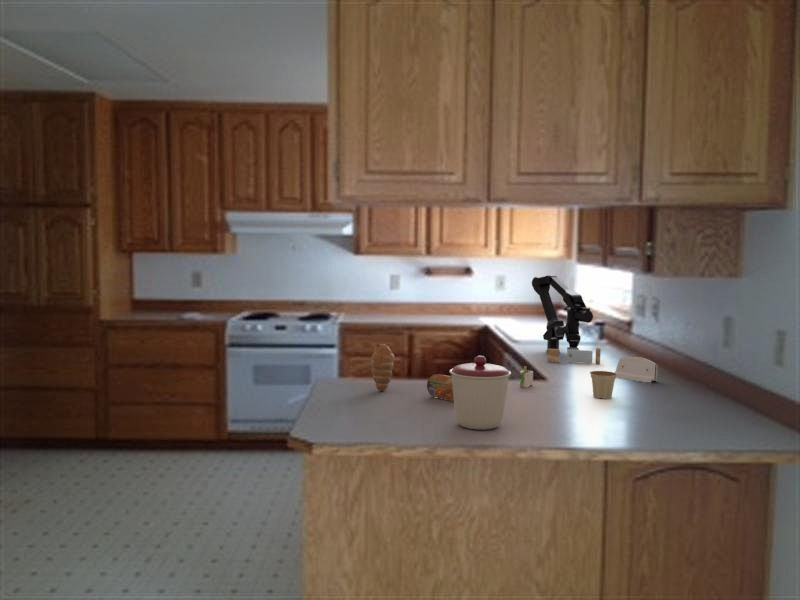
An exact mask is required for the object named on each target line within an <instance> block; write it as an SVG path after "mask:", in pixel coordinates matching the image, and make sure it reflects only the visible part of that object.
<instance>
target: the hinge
mask: <svg viewBox="0 0 800 600" xmlns="http://www.w3.org/2000/svg"><path fill="white" fill-rule="evenodd" d="M614 373H617V376H616V377H618V378H617V379H621V378H622V380H627V379H629V381H633V380H635V381H634V382H639V381H643V382H642V383H646V382H651V383H652V382H654V381H656V382H657V378H658V364H657V363H656V362H654V361H652V360H650V359H648V358H644V357H640V356H625V357H621V358H619V359H618V363H617V365H616V369H615V371H614Z"/></svg>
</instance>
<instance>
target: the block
mask: <svg viewBox="0 0 800 600" xmlns="http://www.w3.org/2000/svg"><path fill="white" fill-rule="evenodd" d="M567 350H580V348H579V347H577V348H575V347H568V346H567V347H566V351H567Z"/></svg>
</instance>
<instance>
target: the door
mask: <svg viewBox="0 0 800 600" xmlns="http://www.w3.org/2000/svg"><path fill="white" fill-rule="evenodd" d="M566 362H567V363H578V362H579V363H583V364H593V350H589V349H588V350H586V349H579V350H567V349H566ZM579 363H578V364H579Z"/></svg>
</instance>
